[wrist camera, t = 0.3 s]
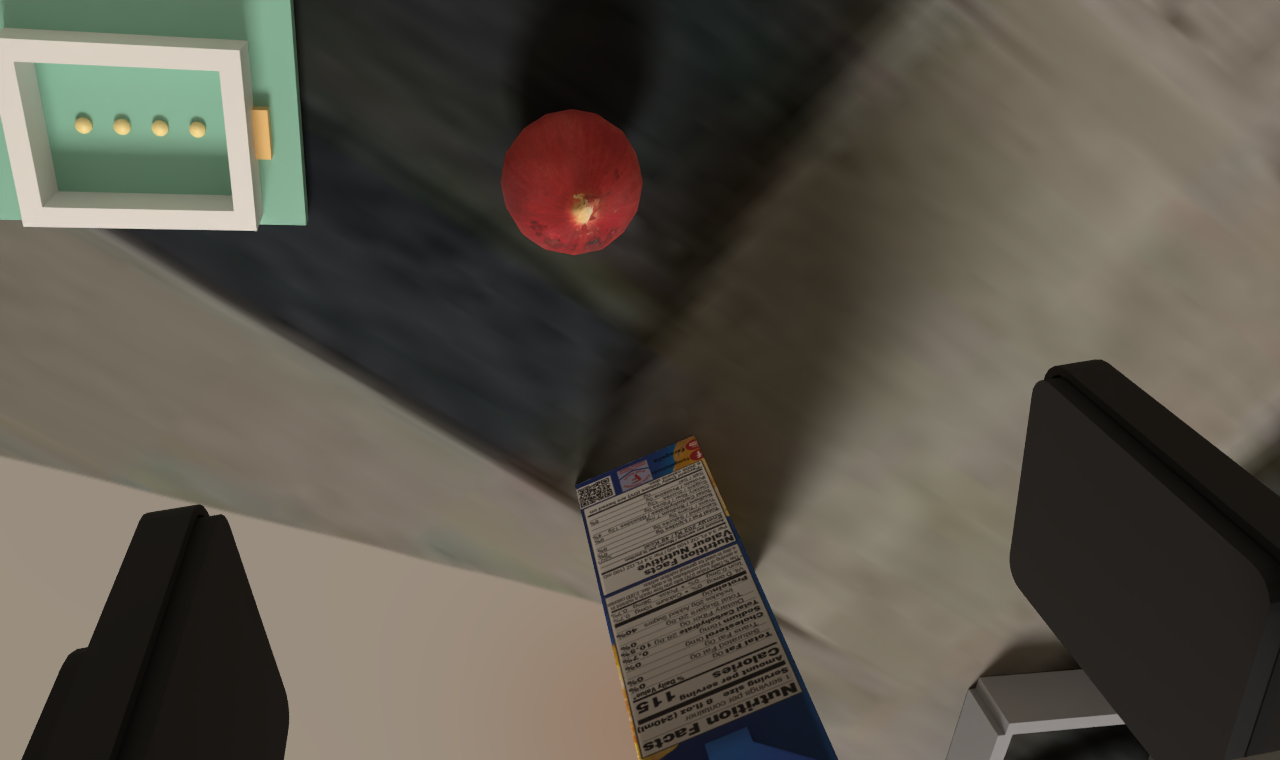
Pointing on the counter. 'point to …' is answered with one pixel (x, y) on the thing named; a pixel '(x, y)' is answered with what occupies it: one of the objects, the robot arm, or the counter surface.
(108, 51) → the board
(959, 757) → the tray
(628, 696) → the beverage box
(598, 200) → the onion
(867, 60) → the counter surface
